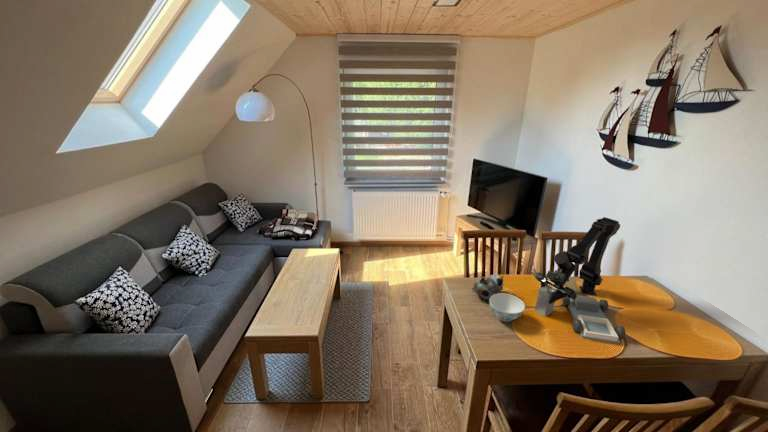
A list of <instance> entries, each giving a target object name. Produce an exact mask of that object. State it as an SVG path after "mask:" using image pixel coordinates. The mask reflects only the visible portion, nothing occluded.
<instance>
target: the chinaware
mask: <svg viewBox="0 0 768 432" xmlns="http://www.w3.org/2000/svg"><path fill="white" fill-rule="evenodd" d="M489 305H490V308H491V311H492V313H493V314H494V315H495V316H496V317H497V319H499V320H500V321H502V322H504V323H505V322H506V323H507V322H511V321H513V320H516V319H519V318H520V317H521V316H522V314H523V313H524V311H525V309H526V305H525V303H524V301H523V300H522V299H520V298H519V297H517V296H515V295H513V294H509V293H504V292H503V293H501V292H498V293H497V294H494V295H492V296H491V297H490V301H489Z"/></svg>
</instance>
